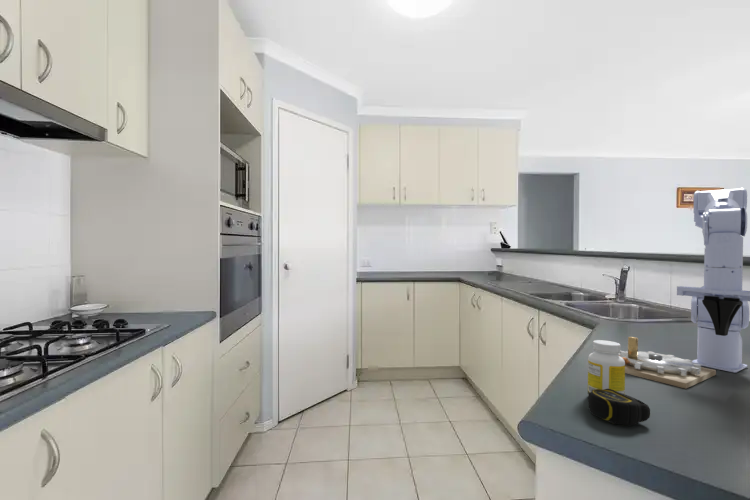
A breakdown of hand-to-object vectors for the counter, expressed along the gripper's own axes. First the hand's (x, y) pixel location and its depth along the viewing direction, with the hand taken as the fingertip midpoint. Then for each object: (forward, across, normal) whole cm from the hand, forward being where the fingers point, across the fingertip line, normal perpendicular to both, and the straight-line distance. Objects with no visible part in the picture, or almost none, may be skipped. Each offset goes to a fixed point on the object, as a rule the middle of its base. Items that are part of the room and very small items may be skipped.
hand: (721, 334), depth 76 cm
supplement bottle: (+10, -7, -32) cm, 34 cm away
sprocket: (+8, -10, -3) cm, 13 cm away
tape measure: (+10, -3, -38) cm, 40 cm away
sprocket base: (+9, -10, -4) cm, 14 cm away
